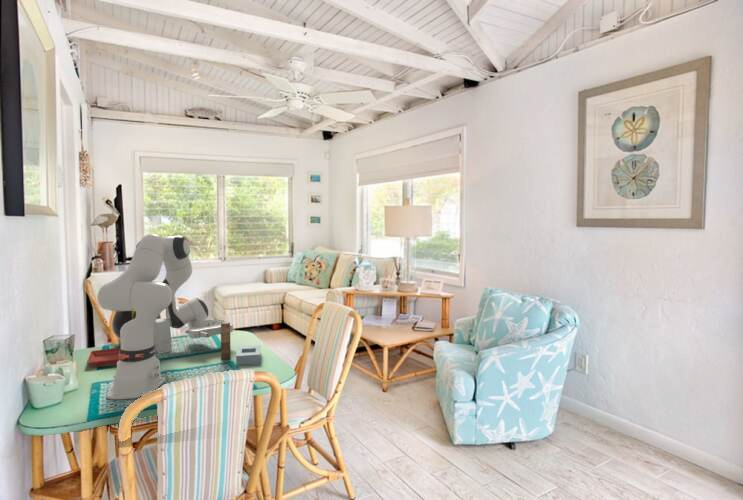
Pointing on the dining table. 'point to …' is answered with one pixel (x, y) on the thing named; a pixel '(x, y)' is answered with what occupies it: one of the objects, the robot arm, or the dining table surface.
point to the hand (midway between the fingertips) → (217, 333)
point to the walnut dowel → (225, 341)
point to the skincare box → (162, 335)
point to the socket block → (248, 355)
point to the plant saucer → (103, 357)
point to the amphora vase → (122, 321)
